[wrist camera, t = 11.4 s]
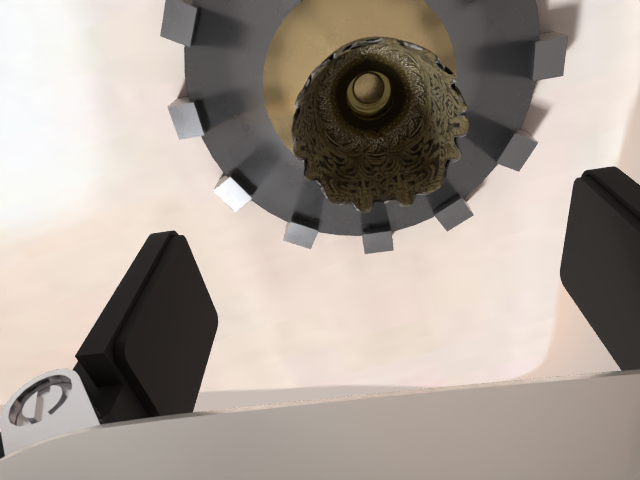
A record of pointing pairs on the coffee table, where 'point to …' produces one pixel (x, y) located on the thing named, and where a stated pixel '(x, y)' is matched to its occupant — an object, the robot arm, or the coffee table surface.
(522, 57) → the gear
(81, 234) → the coffee table surface
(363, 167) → the cup
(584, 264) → the robot arm
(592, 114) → the coffee table surface
